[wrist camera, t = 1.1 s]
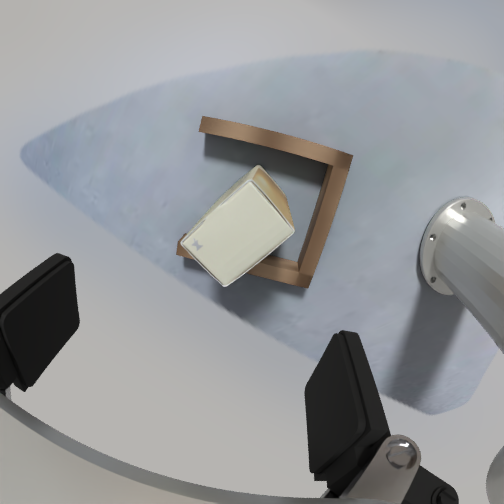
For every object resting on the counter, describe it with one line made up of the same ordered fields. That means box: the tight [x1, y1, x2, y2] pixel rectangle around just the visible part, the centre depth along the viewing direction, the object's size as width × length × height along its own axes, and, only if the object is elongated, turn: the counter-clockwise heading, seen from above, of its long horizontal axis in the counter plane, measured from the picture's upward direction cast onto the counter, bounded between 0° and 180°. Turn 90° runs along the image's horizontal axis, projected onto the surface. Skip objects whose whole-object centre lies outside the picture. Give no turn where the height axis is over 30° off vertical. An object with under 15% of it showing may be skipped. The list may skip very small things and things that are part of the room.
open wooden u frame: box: [176, 116, 353, 288], centre depth 27 cm, size 14×14×2 cm
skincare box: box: [180, 165, 295, 287], centre depth 23 cm, size 6×4×12 cm
